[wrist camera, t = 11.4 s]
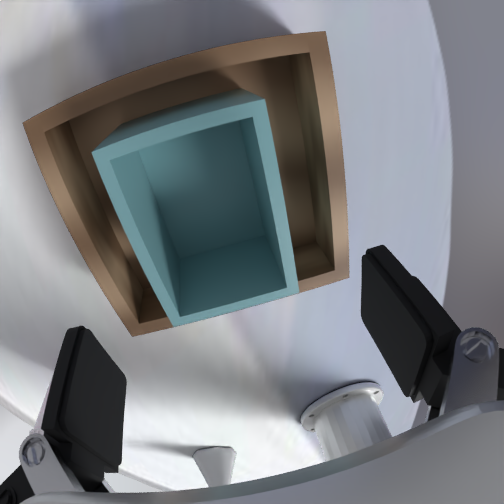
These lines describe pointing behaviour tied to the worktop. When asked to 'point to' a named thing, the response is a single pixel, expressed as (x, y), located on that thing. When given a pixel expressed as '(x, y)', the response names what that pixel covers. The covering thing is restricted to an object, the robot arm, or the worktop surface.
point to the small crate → (203, 204)
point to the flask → (216, 465)
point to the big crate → (184, 90)
